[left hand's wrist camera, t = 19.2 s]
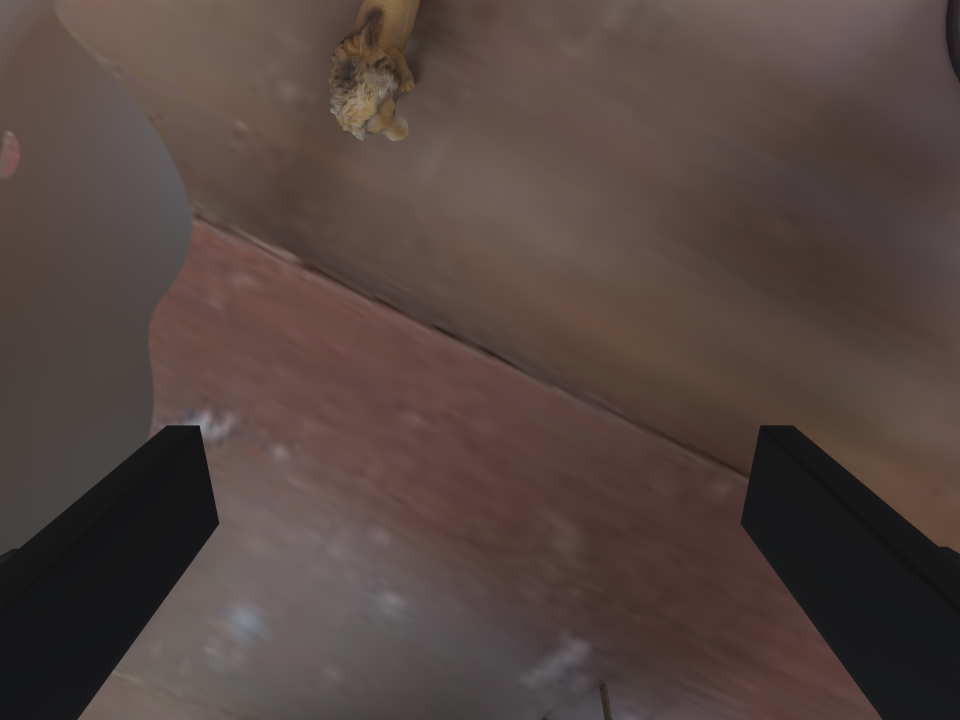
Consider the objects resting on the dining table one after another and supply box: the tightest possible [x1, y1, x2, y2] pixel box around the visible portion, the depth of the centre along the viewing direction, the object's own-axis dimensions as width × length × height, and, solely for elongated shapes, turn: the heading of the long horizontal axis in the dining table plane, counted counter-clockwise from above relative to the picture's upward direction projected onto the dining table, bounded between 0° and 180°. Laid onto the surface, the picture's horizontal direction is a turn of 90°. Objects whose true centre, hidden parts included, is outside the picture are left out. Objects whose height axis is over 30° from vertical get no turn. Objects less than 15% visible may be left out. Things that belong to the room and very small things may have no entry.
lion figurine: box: [328, 0, 420, 141], centre depth 31 cm, size 15×5×9 cm, turn 162°
